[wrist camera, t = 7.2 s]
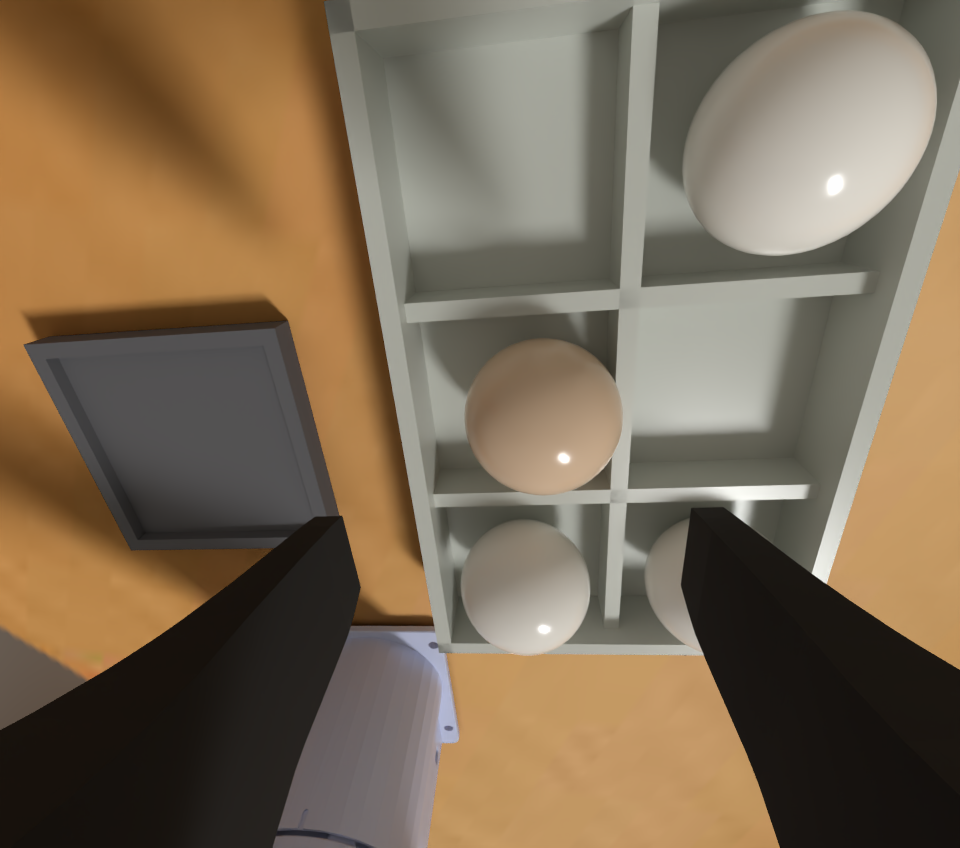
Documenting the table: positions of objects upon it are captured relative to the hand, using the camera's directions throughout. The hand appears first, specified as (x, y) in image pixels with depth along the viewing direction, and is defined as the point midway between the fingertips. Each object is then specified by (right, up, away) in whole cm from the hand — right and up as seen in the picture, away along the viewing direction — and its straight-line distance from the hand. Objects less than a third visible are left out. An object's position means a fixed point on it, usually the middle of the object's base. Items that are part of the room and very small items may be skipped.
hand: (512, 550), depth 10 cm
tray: (+4, +4, +8) cm, 10 cm away
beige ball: (+1, +4, +7) cm, 8 cm away
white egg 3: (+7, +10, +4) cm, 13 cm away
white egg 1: (+1, -3, +11) cm, 11 cm away
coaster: (-13, +2, +11) cm, 16 cm away
